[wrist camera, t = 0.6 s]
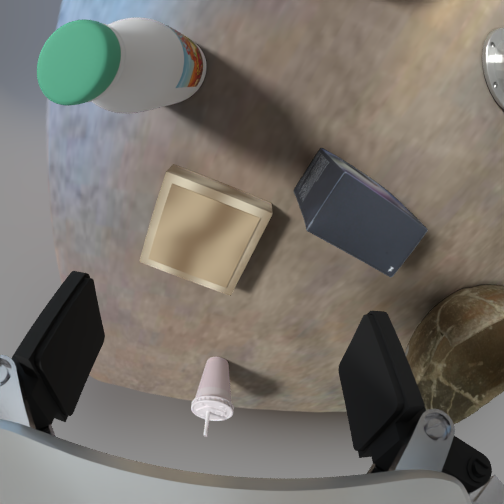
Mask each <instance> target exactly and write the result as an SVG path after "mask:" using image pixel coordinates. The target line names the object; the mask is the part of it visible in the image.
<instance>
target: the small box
mask: <svg viewBox="0 0 504 504" xmlns="http://www.w3.org/2000/svg"><path fill="white" fill-rule="evenodd" d="M294 194H295V196H296V198H297V201H298V204H299V206H300V209H301V212H302V215H303V217H304V221H305V225H306V230H307V231H308V232H310V233H312V234H314V235H316V236H317V237H319V238H321V239H323V240H325V241H326V242H328V243H330V244H332V245H334V246H336V247H337V248H339V249H341V250H343V251H345V252H346V253H348V254H350V255H352V256H354V257H355V258H357V259H359V260H361V261H363V262H364V263H366V264H368V265H370V266H371V267H373V268H375V269H377V270H378V271H380V272H382V273H384V274H386V275H387V276H389V277H393V276H394V274H395V273H396V272H397V270H398V269H399V268H400V267H401V265H402V264H403V263H404V262H405V260H406V259H407V258H408V256H409V255H410V254H411V253H412V251H413V250H414V249H415V247H416V246H417V245H418V243H419V242H420V241H421V239H422V238H423V236H424V235H425V234H426V232H427V228H426V227H425V226H424V225H423V224H422V223H421V222H420V221H419V220H418V219H417V218H416V217H415V216H414V215H413V214H412V213H411V212H410V211H409V210H408V209H407V208H406V207H405V206H404V205H403V204H402V203H401V202H399V201H398V200H397V199H396V198H395V197H394V196H393V195H392V194H391V193H390V192H388V191H387V190H386V189H385V188H383V187H382V186H381V185H379V184H378V183H376V182H375V181H374V180H372V179H371V178H369V177H368V176H367V175H365V174H364V173H362V172H361V171H359V170H358V169H356V168H355V167H353V166H352V165H350V164H348V163H347V162H345V161H344V160H342V159H341V158H339V157H337V156H336V155H334V154H332V153H330V152H329V151H327V150H325V149H323V148H320V150H319V151H318V153H317V154H316V156H315V157H314V159H313V160H312V162H311V163H310V165H309V167H308V168H307V170H306V171H305V173H304V174H303V176H302V178H301V179H300V181H299V182H298V184H297V185H296V187H295V189H294Z"/></svg>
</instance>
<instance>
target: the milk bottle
mask: <svg viewBox="0 0 504 504" xmlns="http://www.w3.org/2000/svg"><path fill="white" fill-rule="evenodd" d="M205 75H206V59H205V56H204V54H203V52H202V50H201V49H200V47H199V46H198V45H197V44H196V43H194V42H193V41H192V40H190V39H189V38H187V37H186V36H184V35H183V34H181V33H179V32H178V31H176V30H174V29H173V28H171V27H169V26H167V25H165V24H163V23H161V22H158V21H155V20H152V19H147V18H127V19H122V20H119V21H116V22H113V23H111V24H109V25H106V24H102V23H99V22H96V21H92V20H77V21H72V22H69V23H67V24H65V25H63V26H61V27H60V28H58V29H57V30H56V31H55V32H54V33H53V34H52V35H51V36H50V37H49V38H48V40H47V41H46V43H45V44H44V46H43V48H42V51H41V53H40V56H39V60H38V64H37V78H38V83H39V86H40V88H41V90H42V92H43V93H44V95H45V96H46V97H47V98H48V99H49V100H51V101H53V102H55V103H57V104H61V105H76V104H81V103H85V102H91V101H92V102H93V103H94V104H96V105H97V106H99V107H101V108H103V109H105V110H108V111H111V112H115V113H125V114H130V113H138V112H144V111H149V110H153V109H157V108H160V107H164V106H168V105H172V104H175V103H178V102H181V101H184V100H186V99H187V98H189V97H191V96H192V95H193V94H194V93H195V92H196V91H197V90H198V89H199V88H200V86H201V85H202V83H203V81H204V78H205Z"/></svg>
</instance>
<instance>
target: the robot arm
mask: <svg viewBox="0 0 504 504" xmlns="http://www.w3.org/2000/svg"><path fill="white" fill-rule="evenodd" d="M482 61H483V70H484V75H485V79H486V82H487V85H488V87H489V90H490V92H491V94H492V96H493V97H494V99H495V100H496V102H497V103H498V104H499V106H500V107H502V108H503V109H504V28H498V29H495V30H493V31H492V32H490V34H489V35H488V36H487V38H486V40H485V42H484V46H483V54H482ZM104 337H105V334H104V329H103V325H102V320H101V316H100V311H99V306H98V301H97V296H96V291H95V285H94V281H93V279H91V278H90V276H89V274H87V273H82V272H77V271H72V272H71V273H70V275H69V276H68V277H67V278H66V280H65V281H64V282H63V284H62V285H61V286H60V288H59V289H58V290H57V292H56V293H55V294H54V296H53V297H52V299H51V300H50V301H49V303H48V304H47V305H46V307H45V309H44V310H43V311H42V313H41V314H40V315H39V317H38V319H37V320H36V321H35V323H34V324H33V326H32V327H31V329H30V330H29V332H28V333H27V335H26V336H25V338H24V339H23V341H22V342H21V344H20V346H19V347H18V349H17V350H16V352H15V354H14V355H13V357H12V359H11V358H10V357H8V356H6V355H0V504H504V485H503V484H502V482H501V481H500V480H499V479H498V478H497V477H496V475H494V476H491V473H492V471H491V470H492V469H491V464H490V461H489V460H488V458H487V457H486V456H485V455H484V454H482V453H481V452H479V451H477V450H476V449H474V448H473V447H471V446H469V445H468V444H466V443H465V442H463V441H462V440H460V439H459V438H457V437H455V436H454V432H455V428H454V424H453V421H452V419H451V418H450V417H449V416H448V414H446V413H445V412H443V411H441V410H439V409H429V410H427V411H426V408H425V404H424V401H423V399H422V396H421V393H420V391H419V388H418V385H417V383H416V380H415V378H414V375H413V373H412V370H411V368H410V365H409V363H408V360H407V358H406V355H405V353H404V350H403V348H402V346H401V343H400V341H399V339H398V336H397V334H396V332H395V330H394V327H393V325H392V323H391V321H390V318H389V316H388V314H387V313H386V312H382V311H370V312H369V313H368V314H366V315H364V316H363V318H362V320H361V322H360V324H359V326H358V328H357V330H356V333H355V335H354V337H353V339H352V341H351V343H350V345H349V347H348V349H347V351H346V353H345V354H344V356H343V358H342V360H341V362H340V364H339V376H340V381H341V385H342V390H343V395H344V400H345V405H346V410H347V415H348V419H349V424H350V430H351V436H352V441H353V446H354V449H355V450H356V451H358V453H359V458H362V457H371V456H372V461H373V464H372V466H371V467H370V469H369V471H368V472H367V474H363V475H352V476H339V477H325V478H302V479H271V478H270V479H269V478H247V477H233V476H221V475H212V474H204V473H197V472H189V471H183V470H177V469H171V468H166V467H160V466H156V465H151V464H146V463H142V462H137V461H133V460H129V459H125V458H121V457H117V456H114V455H110V454H107V453H103V452H100V451H96V450H93V449H90V448H87V447H84V446H81V445H78V444H75V443H72V442H69V441H66V440H63V439H60V438H58V437H56V436H55V434H54V431H53V428H52V426H51V424H52V421H53V419H54V418H56V419H58V420H61V421H64V422H66V419H67V417H68V415H69V416H71V415H72V414H73V412H74V409H75V407H76V404H77V402H78V400H79V397H80V395H81V392H82V390H83V387H84V385H85V383H86V381H87V378H88V376H89V374H90V371H91V369H92V367H93V364H94V362H95V360H96V358H97V356H98V353H99V351H100V349H101V347H102V345H103V342H104Z"/></svg>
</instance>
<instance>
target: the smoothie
mask: <svg viewBox="0 0 504 504" xmlns="http://www.w3.org/2000/svg"><path fill="white" fill-rule="evenodd" d="M191 410H192V412H193V413H194V414H195V415H196V416H198V417H200V418H203V419H206V420H205V428H204V436H205V437H207V436H208V427H209V420H212V421H221V420H226V419H228V418H230V417H231V416H232V415H233V410H234V406H233V404H232V403H231V391H230V378H229V364H228V361H227V360H225V359H224V358H221V357H211V358H209V359H208V360H207V362H206V365H205V369H204V372H203V375H202V378H201V381H200V384H199V388H198V391H197V394H196V397H195V399H194V400H193V401H192V407H191Z"/></svg>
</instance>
